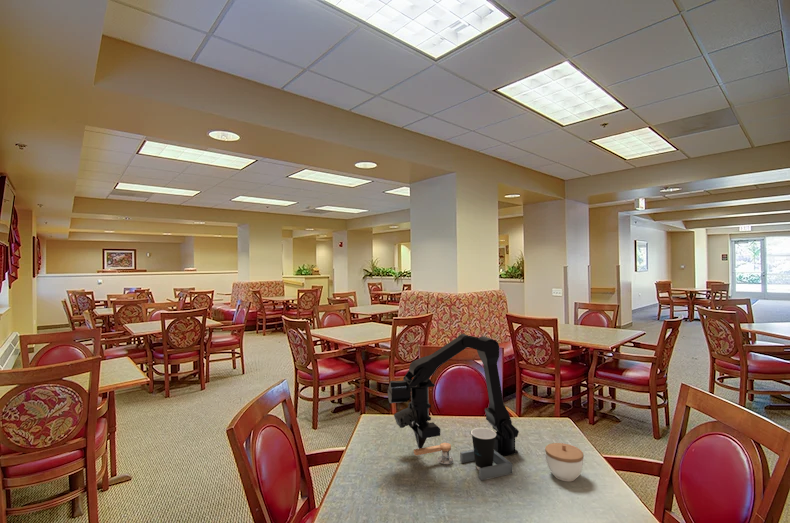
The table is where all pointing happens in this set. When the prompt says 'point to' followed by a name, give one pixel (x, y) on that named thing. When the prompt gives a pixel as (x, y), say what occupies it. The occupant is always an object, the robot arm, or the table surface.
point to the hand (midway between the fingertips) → (420, 448)
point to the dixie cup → (483, 446)
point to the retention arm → (433, 449)
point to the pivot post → (445, 458)
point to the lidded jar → (564, 461)
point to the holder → (491, 471)
